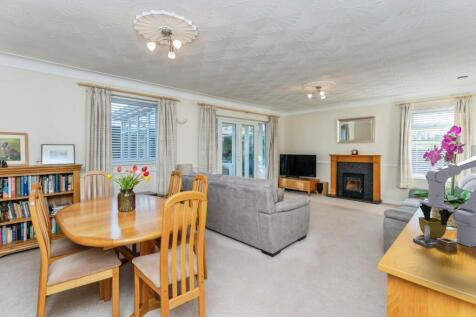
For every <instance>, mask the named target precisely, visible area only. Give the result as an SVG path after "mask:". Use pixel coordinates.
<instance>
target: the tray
mask: <svg viewBox="0 0 476 317" xmlns="http://www.w3.org/2000/svg"><path fill="white" fill-rule="evenodd" d="M412 241H413V242H414V243H417V244H419V245H422V246H424V247H426V248H435V247H436V239H434V238H430V241H429V243H425V242H424V237H423V236H422V237H415V238H413V239H412Z"/></svg>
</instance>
